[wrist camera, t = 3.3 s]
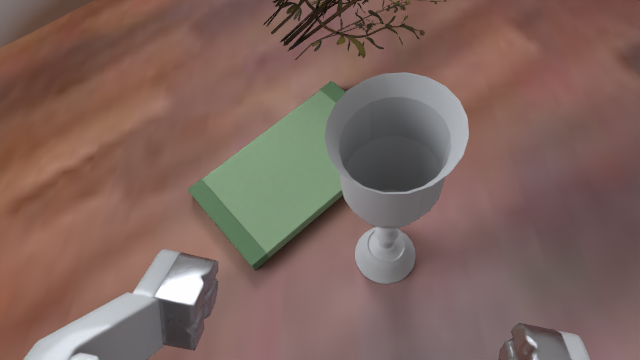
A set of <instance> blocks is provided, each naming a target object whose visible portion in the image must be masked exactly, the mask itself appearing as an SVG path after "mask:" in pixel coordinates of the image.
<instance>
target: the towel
mask: <svg viewBox="0 0 640 360" xmlns="http://www.w3.org/2000/svg"><path fill="white" fill-rule="evenodd" d="M345 93H346V92H345V91H344V90H343V89H341V88H340V87H339V86H338V85H336V84H335V83H334V82H332V81H330V82H329V83H328V84H326V85H325V86H324V87H323V88H321V89H320V91H318V92H317V93H316V94H314V95H313V96H312V97H310V98H309V99H308V100H306V101H305V102H304V103H302V104H301V105H300V106H298V107H297V108H296V109H294V110H293V111H292V112H290V113H289V114H288V115H286V116H285V117H284V118H283V119H281V120H280V121H279V122H277V123H276V124H275V125H273V126H272V127H271V128H269V129H268V130H267V131H265V132H264V133H263V134H261V135H260V136H259V137H257V138H256V139H255V140H253V141H252V142H251V143H249V144H248V145H247V146H245V147H244V148H243V149H241V150H240V151H239V152H238V153H236V154H235V155H234V156H232V157H231V158H230V159H228V160H227V161H226V162H224V163H223V164H222V165H220V166H219V167H218V168H216V169H215V170H214V171H212V172H211V173H210V174H208V175H207V176H206V177H204V178H203V179H201V180H199V181H198V182H197V183H195V184H194V185H193V186H191V187H190V188H189V189H188V191H189V192H190V194H191V195H192V196H193V197H194V199H195V200H196V201H197V202H198V203H199V205H200V206H201V207H202V208H203V209H204V210H205V212H206V213H207V214H208V215H209V216H210V218H211V219H212V220H213V221H214V222H215V224H216V225H217V226H218V227H219V228H220V230H221V231H222V232H223V233H224V234H225V235H226V237H227V238H228V239H229V240H230V241H231V243H232V244H233V245H234V246H235V247H236V249H237V250H238V251H239V252H240V253H241V255H242V256H243V257H244V258H245V259H246V260H247V262H248V263H249V264H250V265H251V266H252V268H253V269H254V270H256V269H258V268H259V267H260V266H261V265H262V264H263V263H265V262H266V261H267V260H268V259H269V258H270V257H271V256H272V255H274V254H275V253H276V252H277V251H278V250H279V249H281V248H282V247H283V246H284V245H285V244H286V243H288V242H289V241H290V240H291V239H292V238H293V237H295V236H296V235H297V234H298V233H299V232H301V231H302V230H303V229H304V228H305V227H306V226H308V225H309V224H310V223H311V222H312V221H313V220H315V219H316V218H317V217H318V216H319V215H320V214H322V213H323V212H324V211H325V210H326V209H327V208H329V207H330V206H331V205H332V204H333V203H335V202H336V201H337V200H338V199H339V198H340V197H342V196H343V192H342V188H341V183H340V175H339V171H338V170H337V168H336V167H335V166H334V164H333V163H332V161H331V160H330V159H329V155H328V151H327V148H326V144H325V140H324V139H325V131H326V123H327V119H328V117H329V115H330V113H331V111H332V109H333V107H334V105H335V104H336V102H337V101H338V100H339V99H340V98H341V97H342V96H343V95H344V94H345Z"/></svg>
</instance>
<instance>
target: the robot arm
mask: <svg viewBox="0 0 640 360" xmlns="http://www.w3.org/2000/svg"><path fill="white" fill-rule="evenodd" d="M217 272H218V261H216V260H211V259H207V258H203V257H199V256H194V255H190V254H186V253H180V252H176V251H172V250H167V249H163V250H162V251H160V252H159V253H158V255H157V256H156V258H155V259H154V261H153V263H152V264H151V266H150V267H149V269H148V270H147V272H146V273H145V275H144V276H143V278H142V280H141V281H140V283H139V284H138V286H137V287H136V289H135V290H134V292H133V293H128V292H127V293H125V294H123V295H121V296H120V297H118V298H116V299H114V300H112V301H110V302H109V303H107V304H105V305H103V306H101V307H99V308H98V309H96V310H94V311H92V312H90V313H88V314H87V315H85V316H83V317H81V318H79V319H77V320H76V321H74V322H72V323H70V324H68V325H66V326H65V327H63V328H61V329H59V330H57V331H55V332H54V333H52V334H50V335H48V336H46V337H44V338H43V339H41V340H39V341H37V343H36V344H35V345H34V346H33V348H32V349H31V350H30V351H29V353H28V354H27V355H26V357H25V358H24V359H23V360H147V359H148V358H150V357H151V356H152V355H153V354H155V353H156V352H157V351H158V350H160V349H161V348H162V347H163V345H167V346H173V347H178V348H184V349H189V350H194V351H195V349H196V347H197V344H198V342H199V340H200V338H201V335H202V333H203V331H204V319H206V318H207V317H209V316H210V314H211V312H212V309H213V307H214V303H215V300H216V296H217V290H218V281H217V280H216V279H215V277H216V274H217ZM511 333H512V336H513V338H512V339H510V340H508V341H505V342H504V344H503V346H502V348H501V349H500V354H499V359H498V360H590V358H589V355H588V353H587V351H586V348H585V346H584V344H583V341H582V339H581V338H580V337H579V336H578V335H576V334H571V333H567V332H562V331H556V330H552V329H547V328H542V327H537V326H532V325H527V324H522V323H519V324H517V325H515V326H514V328H513V329H512V331H511Z"/></svg>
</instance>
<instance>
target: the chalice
mask: <svg viewBox="0 0 640 360" xmlns="http://www.w3.org/2000/svg"><path fill="white" fill-rule="evenodd" d="M468 138H469V132H468V118H467V115H466V113H465V111H464V109H463V107H462V105H461V103H460V101H459V99H458V98H457V97H456V96H455V95H454V94H453V93H452V92H451V91H450V90H449V89H448V88H447V87H446V86H444V85H442V84H440V83H438V82H436V81H434V80H433V79H431V78H429V77H426V76H422V75H417V74H412V73H407V72H404V73H385V74H382V75H378V76H375V77H372V78H369V79H366V80H364V81H362V82H360V83H359V84H357V85H356V86H354V87H352V88H351V89H349V90H348V91H347V92H346V93H345V94H344V95H343V96H342V97H341V98H340V99H339V100H338V101H337V102H336V104H335V105H334V107H333V109H332V111H331V113H330V115H329V117H328V119H327V123H326V131H325V139H324V140H325V144H326V148H327V151H328V155H329V159H330V160H331V161H332V163H333V164H334V166H335V167H336V168H337V170H338V171H339V175H340V183H341V188H342V192H343V196H344V199H345V201H346V202H347V204H348V205H349V206H350V208H351V209H352V211H353V212H354V213H356V214H357V215H358V216H360V217H361V218H362V219H364V220H365V221H366V222H368V223H369V224H371V225H373V226H376V227H375V228H372V229H370V230H369V231H367V232H366V233H364V234H363V236H362V237H361V238H360V239H359V241H358V243H357V246H356V249H355V259H356V262H357V266H358V268H359V269H360V270H361V272H362V273H363V275H365V276H366V277H367V278H369V279H370V280H372V281H375V282H378V283H381V284H391V283H395V282H398V281H400V280H402V279H403V278H405V277H406V276H408V274H409V273H410V271H411V270H412V269H413V266H414V263H415V260H416V255H415V248H414V245H413V243H412V241H411V240H410V238H409V237H408V236H407V235H406V234H405V233H403V232H402V231H400V230H399V229H398V228H400V227H403V226H406V225H409V224H411V223H412V222H414V221H416V220H417V219H419V218H420V217H422V216H423V215H424V214H426V213H427V212H429V211H430V209H431V208H432V207H433V205H434V204H435V203H436V201H437V200H438V199H439V196H440V193H441V190H442V187H443V183H444V180H445V177H446V175H448V174H449V173H450V172H451V171H452V170H453V168H454V167H455V166H456V164H457V163H458V162H459V160H460V159H461V158H462V156H463V154H464V151H465V147H466V144H467V141H468Z"/></svg>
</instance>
